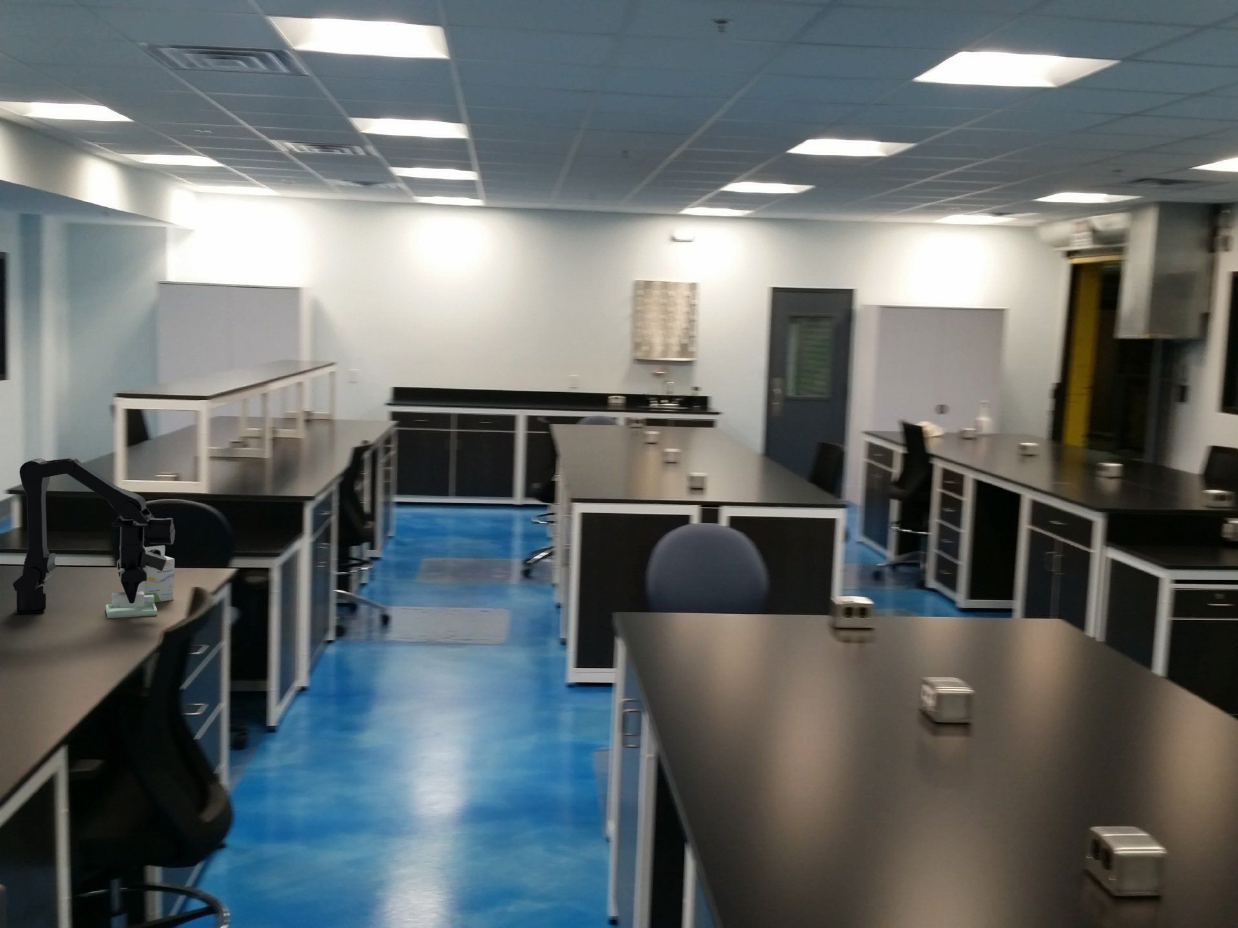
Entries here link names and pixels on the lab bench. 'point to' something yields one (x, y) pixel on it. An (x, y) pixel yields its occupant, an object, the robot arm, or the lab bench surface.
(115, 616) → the tray
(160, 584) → the ink box
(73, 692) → the lab bench surface
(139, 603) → the connector
